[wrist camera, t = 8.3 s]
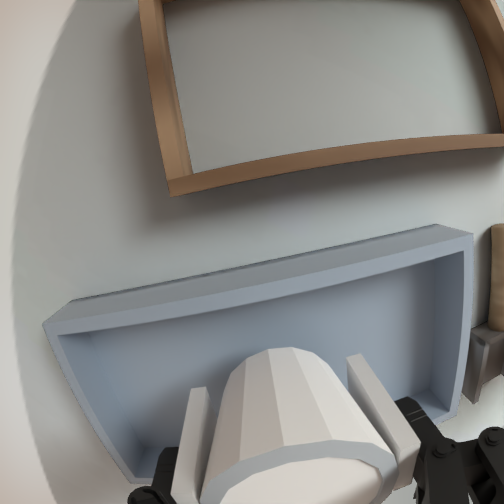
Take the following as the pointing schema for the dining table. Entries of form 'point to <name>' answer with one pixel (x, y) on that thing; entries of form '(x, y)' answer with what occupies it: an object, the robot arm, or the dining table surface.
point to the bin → (269, 333)
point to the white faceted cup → (294, 438)
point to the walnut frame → (184, 181)
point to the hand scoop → (488, 328)
